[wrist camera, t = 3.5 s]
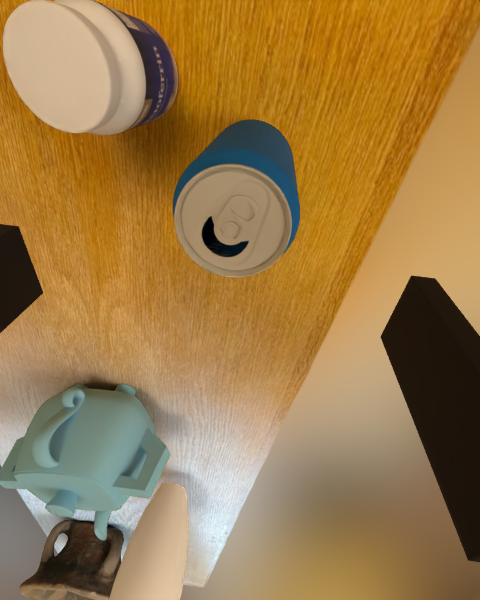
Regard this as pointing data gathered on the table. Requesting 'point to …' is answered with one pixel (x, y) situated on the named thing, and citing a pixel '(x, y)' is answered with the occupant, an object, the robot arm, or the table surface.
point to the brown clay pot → (77, 565)
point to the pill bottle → (88, 66)
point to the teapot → (88, 453)
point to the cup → (156, 550)
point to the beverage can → (238, 201)
